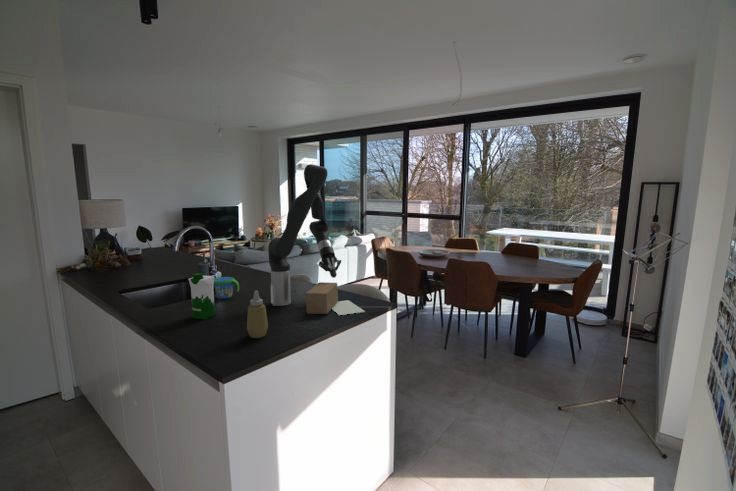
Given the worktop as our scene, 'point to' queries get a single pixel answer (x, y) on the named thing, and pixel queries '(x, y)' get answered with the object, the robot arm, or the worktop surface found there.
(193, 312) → the milk carton
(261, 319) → the squeeze bottle
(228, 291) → the snack cup
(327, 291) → the wooden block
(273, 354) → the worktop surface
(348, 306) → the mat
